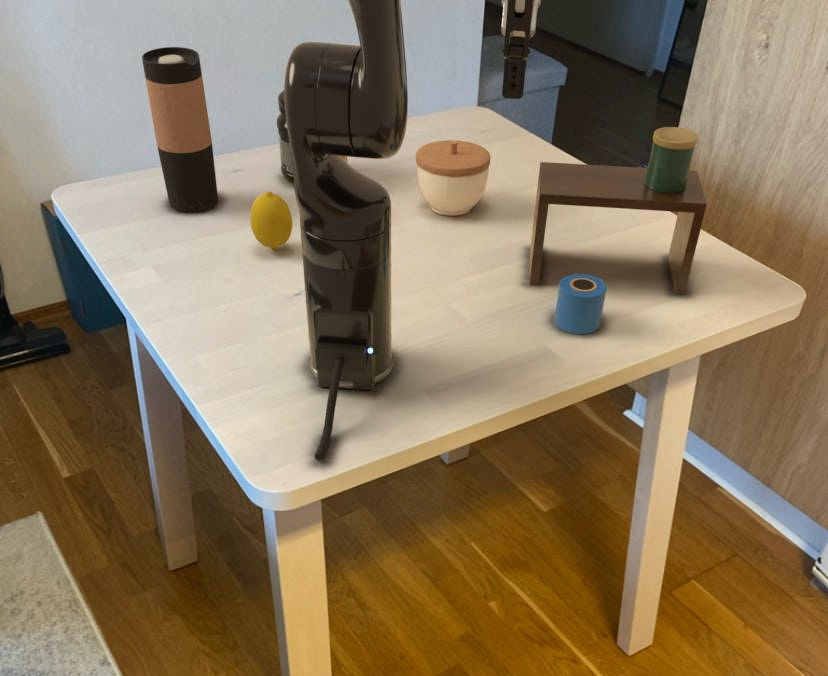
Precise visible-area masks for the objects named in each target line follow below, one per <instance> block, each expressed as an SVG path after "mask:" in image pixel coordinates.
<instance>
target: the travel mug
mask: <svg viewBox="0 0 828 676" xmlns="http://www.w3.org/2000/svg"><path fill="white" fill-rule="evenodd" d="M141 57H142V58H141V60H142V66H143V72H144V78H145V84H146V91H147V95H148V101H149V108H150V112H151V113H150V114H151V118H152V125H153V131H154V137H155V142H156V146H157V152H158V157H159V161H160V162H159V163H160V166H161V170H162V175H163V180H164V184H165V189H166V194H167V199H168V203H169V206H170V208H171V209H173V210H174V211H176V212H179V213H185V214H186V213H187V214H195V213H202V212H206V211H209V210H211V209H214V208H215V207H216V206H217V205H218V203H219V196H218V185H217V176H216V166H215V157H214V149H213V148H214V147H213V140H212V133H211V126H210V119H209V111H208V106H207V101H206V100H207V99H206V92H205V86H204V79H203V73H202V72H203V71H202V66H201V60H200V59H201V58H200V54H199V52H198V51H196V50H195V49H193V48H188V47H182V46H181V47H180V46H167V47H166V46H165V47H159V48H154V49H151V50H148V51H146V52H144V53H143V54H142V56H141Z"/></svg>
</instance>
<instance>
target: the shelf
mask: <svg viewBox="0 0 828 676" xmlns="http://www.w3.org/2000/svg"><path fill="white" fill-rule="evenodd" d="M647 169H648V167H635V166H619V165H617V166H616V165H601V164H583V163H567V162H549V161H548V162H547V161H540V162H539V169H538V178H537V188H536V194H535V195H536V196H535V207H534V213H533V221H532V222H533V223H532V231H531V238H530V240H531V242H530V248H529V252H530V253H529V277H528V278H529V281H528V283H529V286H530V285H531V286H539V284H540V277H541V275H540V274H541V269H542V260H543V253H544V252H543V250H544V243H545V237H546V236H545V235H546V226H547V219H548V211H549V205H557V206H558V205H559V206H572V207H573V206H574V207H590V208H591V207H592V208H607V209H622V210H623V209H625V210H640V211H657V212H672V213H673V212H674V213H677V216H676V220H675V225H674V229H673V233H672V238H671V243H670V245H669V246H670V248H669V252H668V254H667V261H668V267H669V270H670V271H669V272H670V276H671V280H672V285H673V290H674V294H675V295H683V296H684V295H685V293H686V289H687V285H688V281H689V278H690V274H691V270H692V266H693V262H694V258H695V255H696V249H697V245H698V243H699V238H700V234H701V229H702V225H703V221H704V218H705V213H706V211H707V206H708V203H707V199H706V197H705V196H706V195H705V193H704V189H703V185H702V183H701V180H700V176H699V172H698V170H690V171H689V175H688V180H687V184H686V188H685V189H684V190H683V191H680V192H676V193H663V192H658V191H655V190H652V189H650V188H648V187H647V186H646V184H645V179H646V174H647Z"/></svg>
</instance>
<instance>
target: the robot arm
mask: <svg viewBox="0 0 828 676" xmlns="http://www.w3.org/2000/svg"><path fill="white" fill-rule="evenodd" d="M347 2H348V3H349V7H350V10H351V12H352V16H353V19H354V23H355V27H356V31H357V35H358V42H359V45H356V44H345V43H331V42H320V41H319V42H318V41H304V42H301V43H299V44H297V45H296V46H295V47H294V49H293V50H292V52H291V53H290V55H289V57H288V60H287V64H286V68H285V74H284V82H283V84H284V85H283V91H284V98H285V114H286V123H287V130H288V138H289V145H290V152H291V159H292V168H293V176H294V184H293V186H294V187H293V188H294V194H295V199H296V204H297V208H298V213H299V226H300V228H299V229H300V239H301V240H300V241H301V255H302V266H303V267H302V269H303V281H304V293H305V295H304V296H305V305H306V320H307V321H306V322H307V333H308V345H309V368H310V372H311V374H312V375H313V377H314V378H316V379H317V380H316V381H317V386H318V387H324V388H329V391H328V396H327V403H326V409H325V417H324V422H323V423H324V424H323V430H322V435H321V438H320V441H319V444H318V447H317V449H316V451H315V453H314V459H315V460H316V462H322V461H323V460H324V457H325V455H326V452H327V450H328V447H329V444H330V441H331V436H332V433H333V426H334V419H335V412H336V405H337V400H338V394H339V389H352V390H364V391H373V389H374V386H375V385H376V384H378V383H380V382H382V381H383V380H385V379H386V378H387V377H388V376H389V375H390V373H391V372H392V370H393V354H392V353H393V352H392V351H393V347H392V344H393V343H392V341H393V340H392V201H391V197H390V193H389V192H388V190H387V189H386V187H384V186H383V185H382V184H381V183H380V182H378V181H376V180H374V179H373V178H371V177H369V176H367V175H366V174H363V173H361V172H360V171H358V170H356V169H355V168H354V167H352V165H350V164H349V163H348V164H347V163H346V162H345V161H344V160H343V159H342V158H341V157H340V156H347V158H348V157H349V158H359V159H370V160H371V159H372V160H387V159H390V158H392V157H394V156H395V155H396V154H398V152H399V151H400V149H401V148H402V145H403V143H404V141H405V136H406V131H407V124H408V112H409V111H408V110H409V96H408V95H409V94H408V93H409V92H408V91H409V90H408V75H407V62H406V61H407V60H406V50H405V49H406V48H405V38H404V27H403V25H404V24H403V13H402V1H401V0H348V1H347ZM541 2H542V0H501V5H502V7H503V8H502V19H501V35H502V36H504V45H503V47H502V50H501V51H502V53H501V54H502V55H503V57H502V58H503V59H504V64H503V76H502V90H501V94H502V95H501V96H502V97H503V98H505V99H510V100H511V99H512V100H520V99H522V98H523V96H524V90H525V79H526V71H527V70H526V69H527V61H528V59H529V58H528V57H530V53H531V48H530V47H529V46H530V40H531V38H533V37H534V36H535V35H536V29H537V28H536V27H537V17H538V9H539V8H540V7H541Z"/></svg>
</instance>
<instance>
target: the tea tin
mask: <svg viewBox="0 0 828 676" xmlns="http://www.w3.org/2000/svg"><path fill="white" fill-rule="evenodd" d="M698 139H699V136H698V134H697V133H695V132H694V131H692V130H690V129H688V128H685V127H679V126H678V127H677V126H663V127H660V128H657V129H655V130H654V132H653V135H652V145H651V150H650V155H649V159H648V164H647V168H648V169H647V174H646V179H645V184H646V186H647V187H648V188H650V189H652V190H655V191H658V192H663V193H676V192H680V191H683V190H684V189H685V188H686V184H687V180H688V175H689V171H691V166H692V162H693V157H694V153H695V149H696V146H697V144H698Z"/></svg>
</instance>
